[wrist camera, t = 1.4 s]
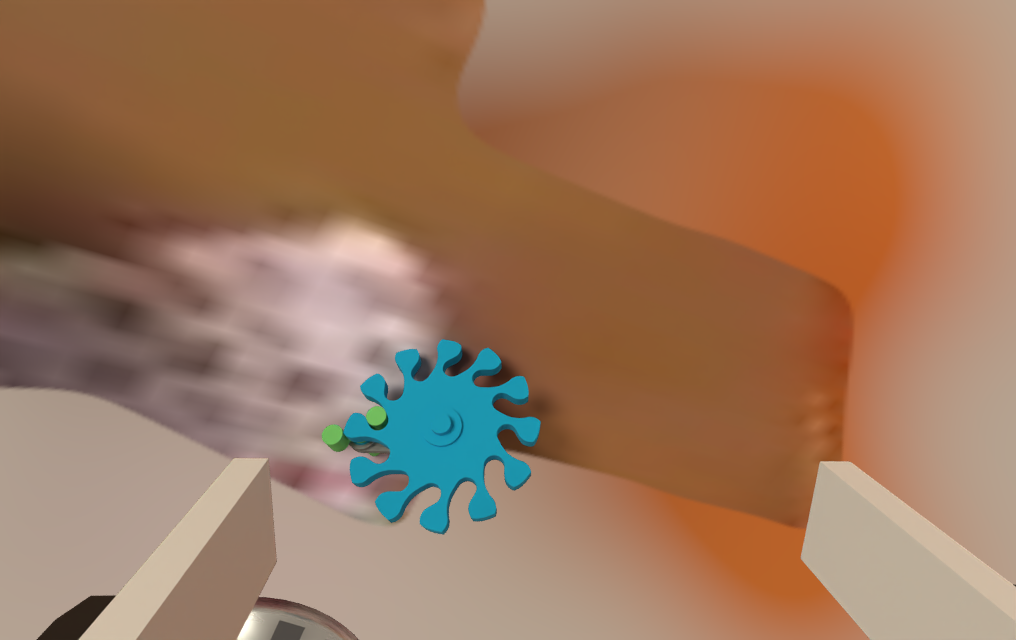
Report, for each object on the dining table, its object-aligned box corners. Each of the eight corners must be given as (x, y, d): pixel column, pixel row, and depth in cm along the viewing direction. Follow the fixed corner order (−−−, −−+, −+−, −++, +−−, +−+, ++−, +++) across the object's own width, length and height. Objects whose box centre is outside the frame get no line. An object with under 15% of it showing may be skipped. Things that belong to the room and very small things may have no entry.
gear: (541, 336, 30) (540, 532, 25) (537, 379, 35) (537, 549, 30) (338, 332, 30) (298, 525, 25) (365, 376, 35) (336, 543, 30)
